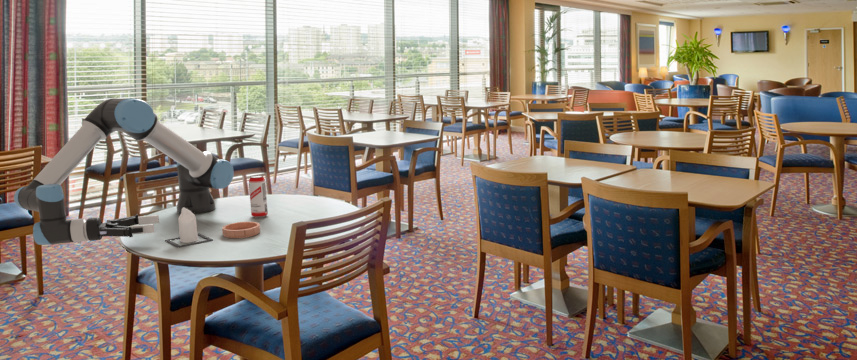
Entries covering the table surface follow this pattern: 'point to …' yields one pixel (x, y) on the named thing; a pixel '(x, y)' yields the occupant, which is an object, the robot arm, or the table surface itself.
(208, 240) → the dark grey square frame
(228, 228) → the bowl
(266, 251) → the table surface
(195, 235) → the white tapered upright piece
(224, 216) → the table surface
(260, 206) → the beer can
